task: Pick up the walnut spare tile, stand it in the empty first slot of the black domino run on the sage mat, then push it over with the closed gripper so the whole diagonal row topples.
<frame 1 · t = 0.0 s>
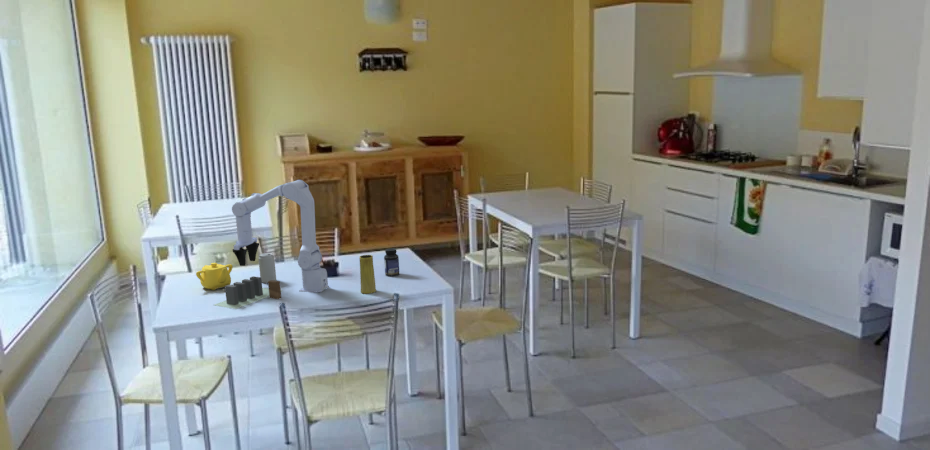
hand: (247, 263, 290), 10 cm above the table, fingers open, 7 cm apart
teapot: (217, 287, 293), on the table
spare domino: (275, 298, 274), on the table
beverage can: (268, 282, 298), on the table
domino 4: (232, 303, 268), resting on mat
vase: (368, 292, 279), on the table
pill bottle: (392, 275, 302), on the table
domino 1: (257, 294, 279), resting on mat
domino 3: (241, 300, 272), resting on mat
domino 2: (249, 297, 276), resting on mat
mat: (249, 298, 276), on the table
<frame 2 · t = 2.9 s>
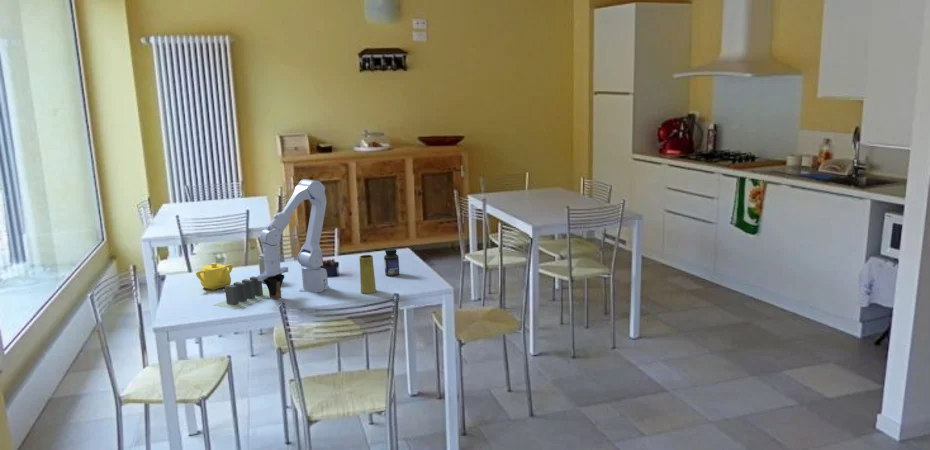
hand: (275, 294, 274), 2 cm above the table, fingers closed on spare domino, 2 cm apart
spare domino: (275, 298, 274), on the table, touching gripper
everything else where it was.
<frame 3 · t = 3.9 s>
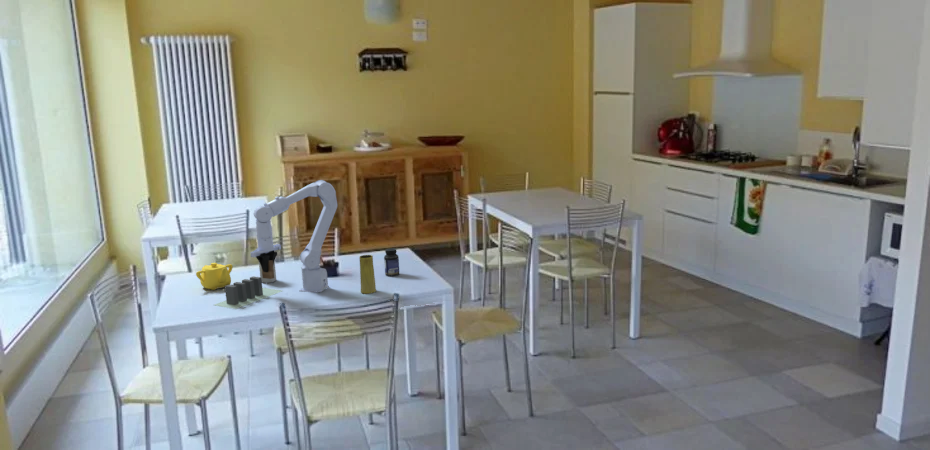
hand: (267, 271, 276), 10 cm above the table, fingers closed on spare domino
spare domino: (268, 277, 277), point 7 cm above the table, touching gripper
everything else where it was.
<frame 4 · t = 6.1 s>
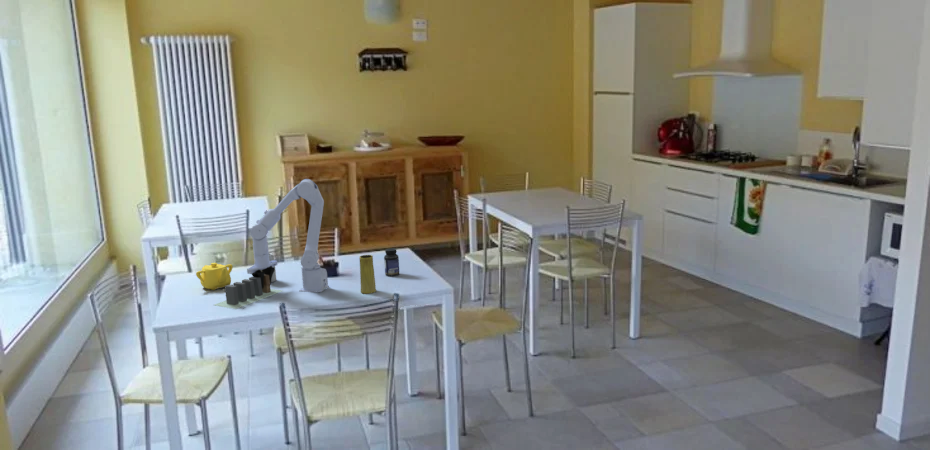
hand: (264, 286, 282), 2 cm above the table, fingers open, 3 cm apart
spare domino: (265, 291, 283), resting on mat
domino 1: (257, 294, 279), resting on mat, touching gripper
everything else where it was.
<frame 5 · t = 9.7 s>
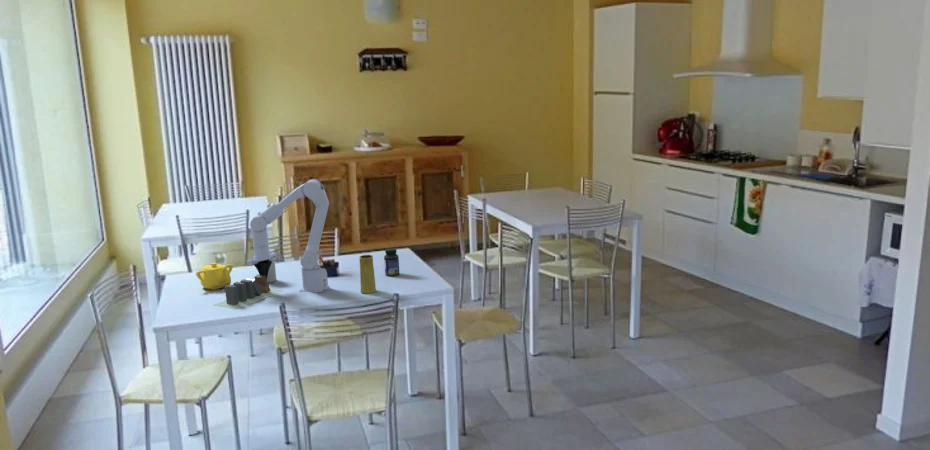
hand: (264, 279, 282), 5 cm above the table, fingers closed
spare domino: (264, 291, 283), point 1 cm above the table, tilted 15°, touching mat
domino 1: (256, 293, 279), point 1 cm above the table, tilted 25°, touching domino 2, mat
domino 2: (249, 297, 276), resting on mat, tilted 6°, touching domino 1
everything else where it was.
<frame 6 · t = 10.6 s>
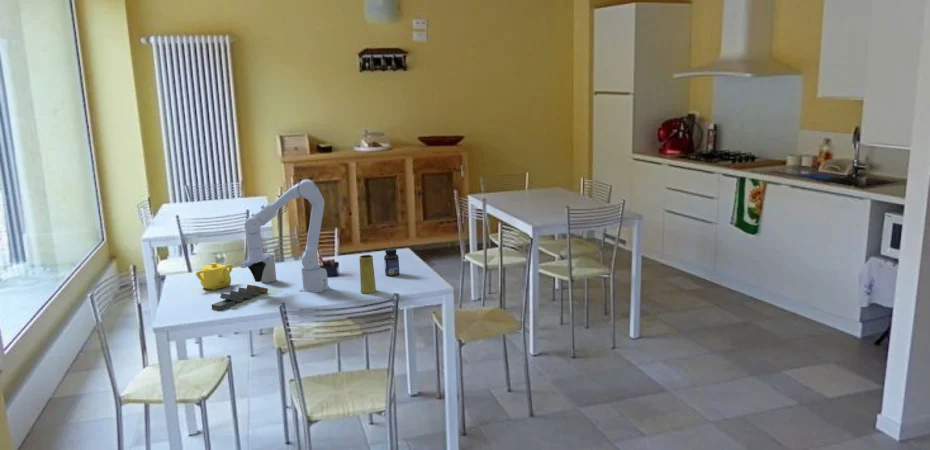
hand: (258, 281, 279), 5 cm above the table, fingers closed
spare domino: (263, 290, 282), point 1 cm above the table, tilted 65°, touching domino 1, mat
domino 4: (230, 302, 267), point 1 cm above the table, tilted 90°, touching domino 3, mat
domino 1: (255, 293, 278), point 1 cm above the table, tilted 64°, touching domino 2, mat, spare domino
domino 3: (238, 299, 271), point 1 cm above the table, tilted 63°, touching domino 2, domino 4, mat
domino 2: (247, 296, 275), point 1 cm above the table, tilted 66°, touching domino 1, domino 3, mat
everything else where it was.
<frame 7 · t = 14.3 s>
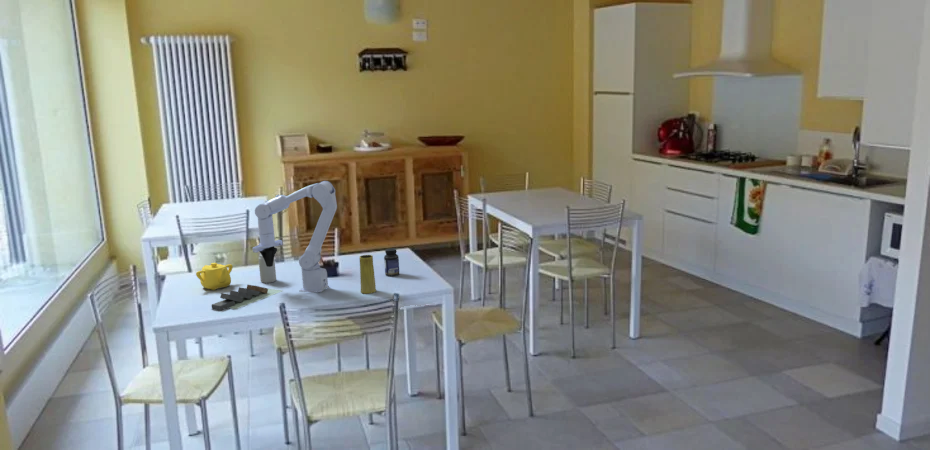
hand: (269, 266, 284), 10 cm above the table, fingers closed
nothing on the table moved.
at the end: domino 4 tilted 90°; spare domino 4.4 cm from the domino 1 (horizontally) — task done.
